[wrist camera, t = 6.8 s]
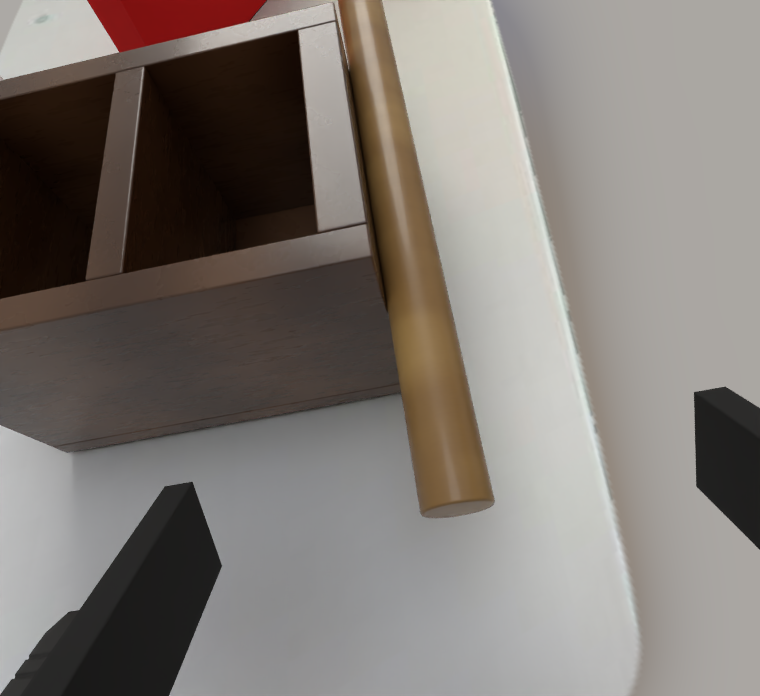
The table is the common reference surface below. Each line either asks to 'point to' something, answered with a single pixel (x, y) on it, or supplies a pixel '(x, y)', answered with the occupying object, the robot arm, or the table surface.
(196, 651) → the table surface
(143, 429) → the divided box with dowel
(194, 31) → the red rounded slab
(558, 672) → the table surface
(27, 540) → the table surface
